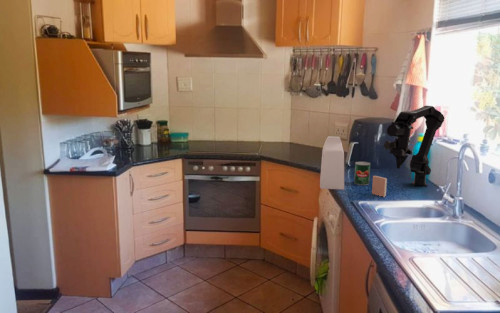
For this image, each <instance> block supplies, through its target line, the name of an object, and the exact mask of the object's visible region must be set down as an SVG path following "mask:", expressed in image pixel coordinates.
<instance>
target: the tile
mask: <svg viewBox="0 0 500 313" xmlns="http://www.w3.org/2000/svg"><path fill="white" fill-rule="evenodd" d="M387 184H388V179H387V177H382V176H379V175H373V176H372V186H371V187H372V188H371V194H372V195H374V194H375V196H378V195H379V197H381V196H383V197H382V198H386V197H387ZM385 196H386V197H385Z"/></svg>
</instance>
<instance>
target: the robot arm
mask: <svg viewBox="0 0 500 313" xmlns="http://www.w3.org/2000/svg"><path fill="white" fill-rule="evenodd" d="M421 118H424V119H425V126H426V129H425V131H424V135H423V137H422V140H421V143H420V146H419V149H418V152H417V153H416V154H413V150H412V149H411V148H409V144H410V142H411V139H410V136H411V131H412V130H413V129H414V127H413V126H412V125H414V123H416V122H417V120H418V119H421ZM444 121H445V116H444V114H443V112H441V111H439V110H438V109H436V107H434V106H433V105H423V106H421V107H419V108H417V109H414V110H410V111H400V112H399V114H398V115H397V116H396V118H395V120H394V121H392V122H391V124H389V126H388V127H387V128H386V133H387V135H388V136H389V137H395V138H394V141H390V140H385V141H384V143H383V147H384V150H389V151H388V154H390V155H393V156H394V158H395V160H396V161H395V163H396V169H401V167H402V165H403V164H404V163H405V161H406V160H407V158H408V157H409V155H410V156H411V155H412V157H411V160H410V161H409V162H410V163H409V169H410V172H411V173H414V178H413V181H412V182H411V183H412V184H413V186H417V187H420V186H421V187H422V186H424V187H428V184H427V183H426V182H427V181H426V179H427V176H429V175H430V174H431V171H432V170H431V168H430V166H429V163H430V162H429V161H430V160H429V157H428V155H429V152H430V150H431V147H432V144H433V141H434V138H435V135H436V132H437V130H439V129H440V128H441V127H442V126H443V123H444Z"/></svg>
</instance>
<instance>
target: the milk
mask: <svg viewBox="0 0 500 313" xmlns="http://www.w3.org/2000/svg"><path fill="white" fill-rule="evenodd" d="M321 151H322V152H321V154H322V155H321V167H320V177H319V178H320V179H319V188H320V189H321V190H345V152H344V147H343V143H342V139H341V136H327V137H326V139H325V141H324V144H323V147H322V150H321Z"/></svg>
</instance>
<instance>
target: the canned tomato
mask: <svg viewBox="0 0 500 313" xmlns="http://www.w3.org/2000/svg"><path fill="white" fill-rule="evenodd" d="M370 175H371V162H368V161H355V162H354V176H353V177H354V178H353V179H354V182H353V184H354V185H358V186H368V185H370V179H371V178H370Z"/></svg>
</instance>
